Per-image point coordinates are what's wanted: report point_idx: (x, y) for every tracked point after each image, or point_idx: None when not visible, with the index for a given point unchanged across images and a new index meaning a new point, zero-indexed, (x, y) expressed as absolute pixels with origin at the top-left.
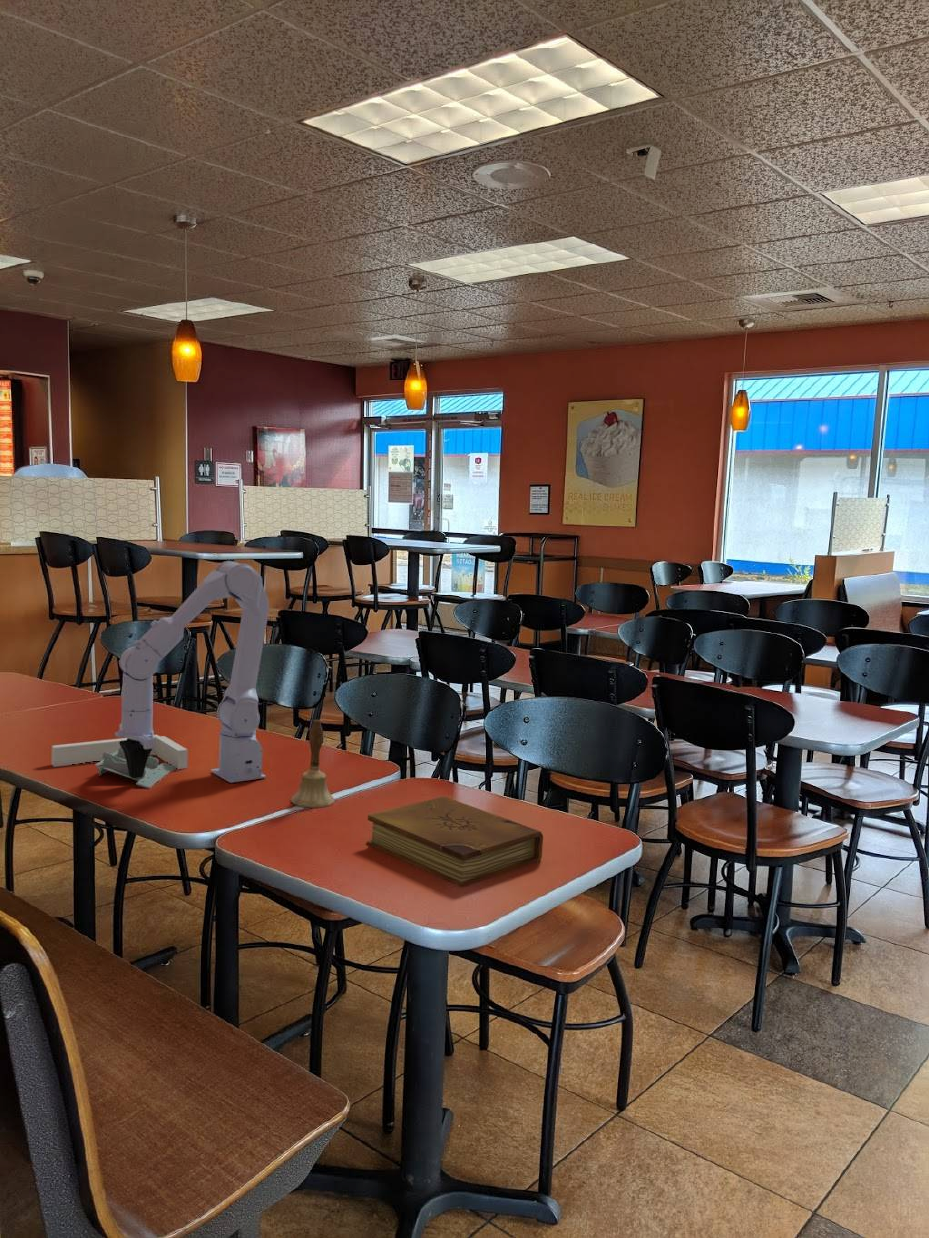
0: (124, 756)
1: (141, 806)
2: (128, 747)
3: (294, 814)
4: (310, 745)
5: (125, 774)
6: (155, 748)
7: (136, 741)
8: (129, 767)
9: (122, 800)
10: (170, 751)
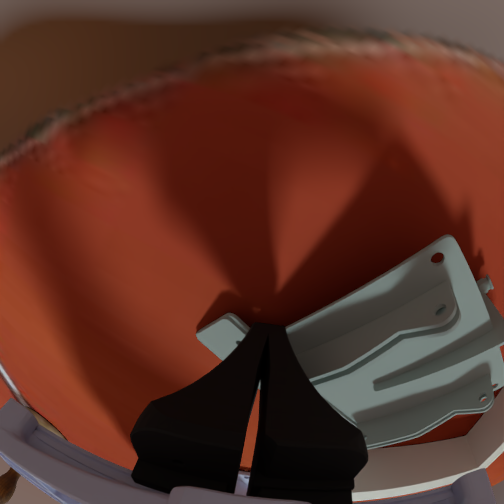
0: (464, 388)
1: (44, 218)
2: (142, 417)
3: (2, 380)
4: (3, 478)
5: (321, 323)
6: (469, 447)
7: (146, 481)
8: (257, 345)
9: (108, 190)
10: (390, 476)
